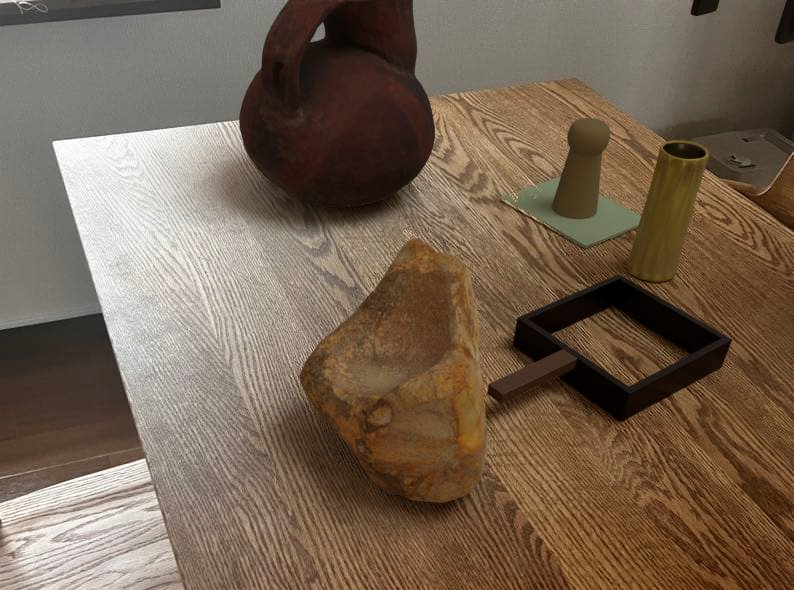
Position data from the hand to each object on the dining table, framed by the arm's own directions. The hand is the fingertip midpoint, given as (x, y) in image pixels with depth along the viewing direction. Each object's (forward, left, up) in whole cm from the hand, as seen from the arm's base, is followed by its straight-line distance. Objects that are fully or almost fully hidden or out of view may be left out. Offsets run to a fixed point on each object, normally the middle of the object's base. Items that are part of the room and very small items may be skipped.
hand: (743, 26), depth 77 cm
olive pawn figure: (-5, -20, -27) cm, 33 cm away
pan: (+20, +6, -27) cm, 35 cm away
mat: (-5, -20, -27) cm, 34 cm away
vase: (-2, -4, -27) cm, 28 cm away
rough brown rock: (+42, +2, -27) cm, 51 cm away
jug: (+17, -43, -27) cm, 54 cm away
